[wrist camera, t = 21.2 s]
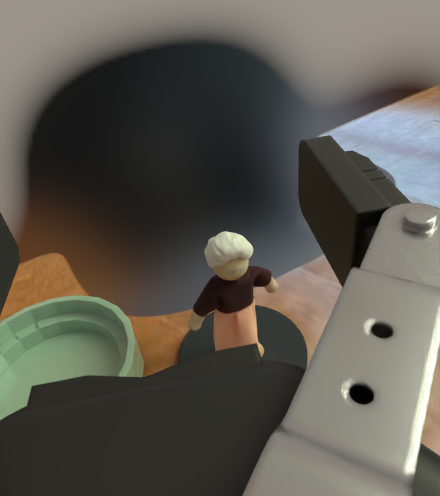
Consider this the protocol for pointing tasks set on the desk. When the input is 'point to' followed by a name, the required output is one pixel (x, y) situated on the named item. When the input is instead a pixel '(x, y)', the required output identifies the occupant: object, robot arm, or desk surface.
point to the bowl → (64, 346)
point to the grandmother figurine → (231, 292)
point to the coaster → (268, 333)
